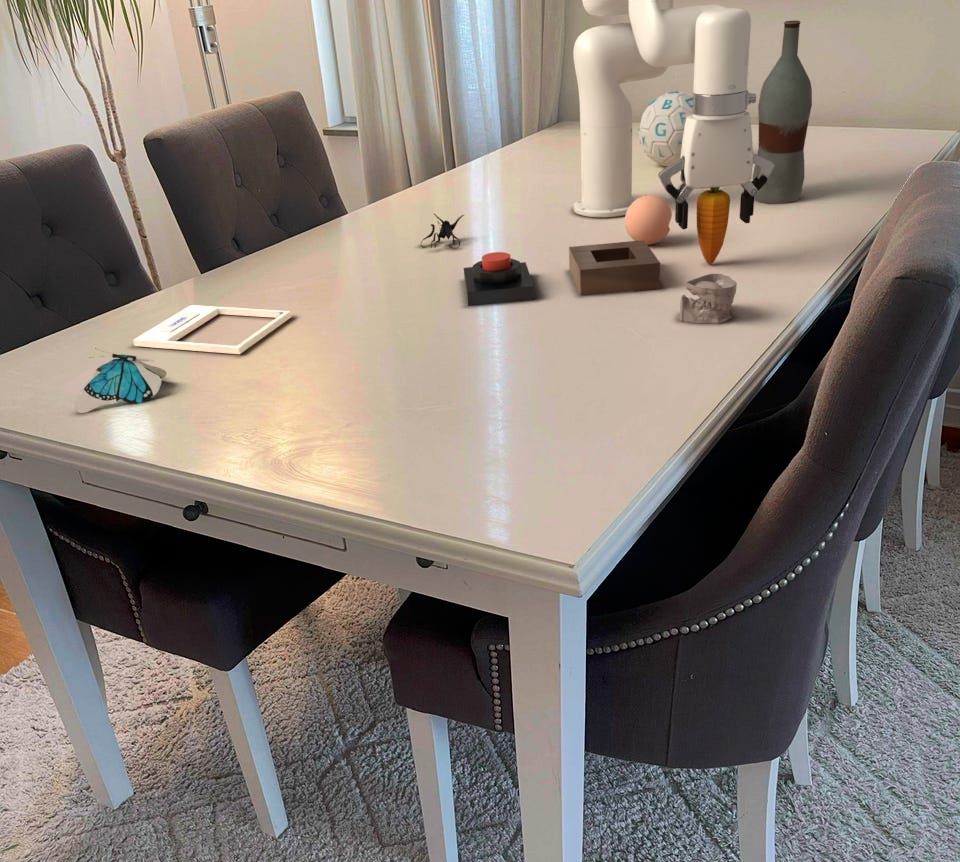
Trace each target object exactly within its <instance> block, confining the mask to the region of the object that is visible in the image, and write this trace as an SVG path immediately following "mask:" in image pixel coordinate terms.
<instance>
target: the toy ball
mask: <svg viewBox="0 0 960 862" xmlns="http://www.w3.org/2000/svg"><path fill="white" fill-rule="evenodd" d="M636 199H637V200H635V201H634V202H633V203H632V204H631V205H630V207H629V208H628V210H627V212H626V215H624V216H625V217H624V226H625V230H626V232H627V234H628V236H629V237H630V238H631V239H632V240H633V241H640V240H644V241H645V242H646V244H647V245H655V244H656V243H659V242H661V241H662V240H663V239H664V238H665V237H667V235H668V234H669V232H670V230H671V228H670V223H671V221H672V216H673V213H672V209H671V207H670V205H669V203H668V202H667V201H666V200H665V199H663V198H661V197H660V196H657V195H652V194H651V195H649V194H647V195H643V196H641V197H638V198H636Z"/></svg>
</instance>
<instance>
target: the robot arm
mask: <svg viewBox="0 0 960 862" xmlns="http://www.w3.org/2000/svg"><path fill="white" fill-rule="evenodd" d="M581 1H582V6H583V8H584V10H585V12H586V13H587V14H588V15H591V16H592V17H593V16H594V17H614V16H621V15H628V17H629V22H619V23H610V24H603V25H598V26H594V27H590V28H588V29H586V30H584V31H583V32H582V33H580V35H578V37H577V38H576V40H575V42H574V44H573V45H574V46H573V51H572V52H573V54H572V55H573V56H572V57H573V64H574V65H573V66H574V70H575V76H576V81H577V89H578V101H579V102H578V103H579V127H580V128H579V129H580V131H579V132H580V179H581V180H580V185H581V192H580V193H581V195H580V196H581V198H580V199H579V200H576V201H575V202H574V204H573V212H574V213H575V214H577V215H579V216H583V217H588V218H616V217H622V216H626V212H627V210H628V208H629V207H630V205H631V204H632V203H633V202H634V201H635V200H637V199H638V198H636V197H633V196H632V193H633V187H632V186H633V107H632V104H631V102H630V100H629V99H628V98H627V96H626V95H625V93H624V92H623V90H622V89H621V86H620V85H621V84H626V83H630V82H638V81H644V80H652V79H657V78H658V77H661V76H663V75H664V74H665V72H666V71H667V70H668V69H669V67H673V66H680V65H687V64H694V65H693V93H692V94H693V95H692V96H693V115H690V116H687V119H686V123H685V128H684V134H683V140H682V149H681V159H679V160H678V161H676V162H675V163H673V164H672V165H670V166H668V167H667V166H666V167H665V168H664V169H662V170H661V171H659V172H658V174H657V176H658V178H659V180H660V182H661V184H662V186H663V188H664V191H666V192H667V193H668V194H669V195H670V196H671V197H672V198H673V199H674V200H675V208H674V209H675V211H674V221H675V223H676V224H677V225H678V226H679V228H680V229H681V230H687V229H688V222H689V202H687V198H688V197H689V196H690V195H691V193H692V192H693V191H694V190H701V189H710V188H713V187H719V188H723V187H733V186H740V187H741V188H742V189H743V192H741V194H740V203H739V204H740V205H739V220H741V221H742V222H743V223H745V224H750V223H751V217H753V216H754V209H755V197H754V196H756V195H757V193H758V191H759V190H760V189H761V188H762V187H763V185H764V184H765V183H766V182H767V179H768V177H769V176H770V174H771V172H772V170H773V168H774V163H773V162H771V161H769V160H767V159H765V158H763V157H760V156H758V155H757V154H756V153H754V151H753V132H752V130H753V129H752V120H751V114H750V112H749V111H747V110H748V106H749V105H751V104H756V102H757V94H756V93H755V92H753V93H751V92H749V90H748V77H749V76H748V75H749V61H750V59H749V58H750V42H751V30H752V29H751V27H752V18H751V14H750V13H749V11H748V10H747V9H745V8H739V7H738V8H737V7H727V6H725V5H722V4H718V3H717V4H714V3H712V4H703V5H702V4H701V5H690V6H680V7H674V0H581ZM753 164H754V165H755V164H756V165H758V166H760V167H761V171H760V173H759V175H757V176H756V178H755V179H754V180H753V179H751V178H752V176H753ZM676 174H679V180H680V182H681V183H680V184H679V186H678V187H677V188H676V187H675V186H674V184H673V182H672V177H673V176H675V175H676Z"/></svg>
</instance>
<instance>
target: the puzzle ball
mask: <svg viewBox="0 0 960 862" xmlns="http://www.w3.org/2000/svg"><path fill="white" fill-rule="evenodd" d="M690 115H693V95H692V94H691V93H688V92H684V91H679V90H673V91H670V92H666V93H663V94H661V95H660V96H657V97H656V98H654V99H653V100H652V101H650V102H649V104H648V106H647V107H646V108H645V110H644V111H643V114H642V116H641V118H640V123H639V127H638V137H639V138H638V140H639V145H640V146H641V148H642V151H643V152H644V154H645V155H646V156H647V157H648V158H649V159H650V160H651V161H653V162H655V163H656V164H658V165H659V166H663V167H666V168H667V167H668V166H670V165H672V164H673V163H675V162H676V161H678V160H679V159H681V149H682V140H683V134H684V128H685V123H686V119H687V116H690Z"/></svg>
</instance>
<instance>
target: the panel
mask: <svg viewBox="0 0 960 862" xmlns="http://www.w3.org/2000/svg"><path fill="white" fill-rule="evenodd" d="M520 261H521V260H518V259H515V258H511V267H510V268H507V269H504V270H495V271H491V270H484V269H482V260H480V261H477V262H476V263H474V264H473V265H472V266H467V267H463V279H464V287H465V293H466V294H465V295H466V300H467V301H466V302H467V306H468V307H474V306H484V305H485V306H486V305H495V304H506V303H507V304H508V303H517V302H529V301H535V289H534V288H535V286H534V283H533V280H532V277H531V274H530V271H529V267H528V265H527V262H526V261H525V262H520Z"/></svg>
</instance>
